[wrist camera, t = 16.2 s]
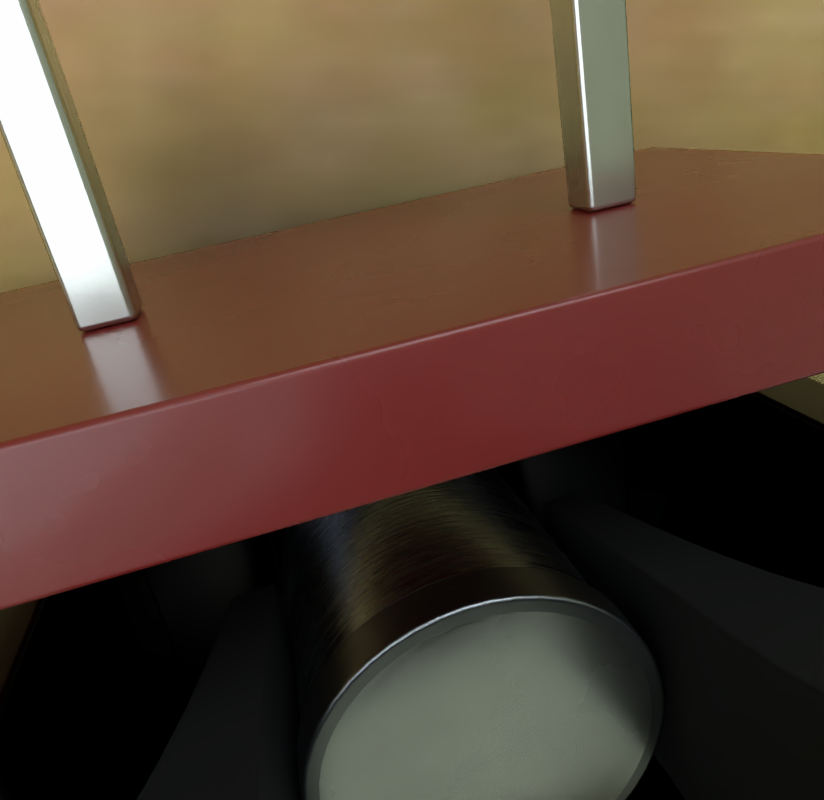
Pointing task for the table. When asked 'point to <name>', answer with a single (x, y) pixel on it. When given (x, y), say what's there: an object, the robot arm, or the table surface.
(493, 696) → the tin
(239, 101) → the table surface
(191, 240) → the table surface
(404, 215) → the drawer
